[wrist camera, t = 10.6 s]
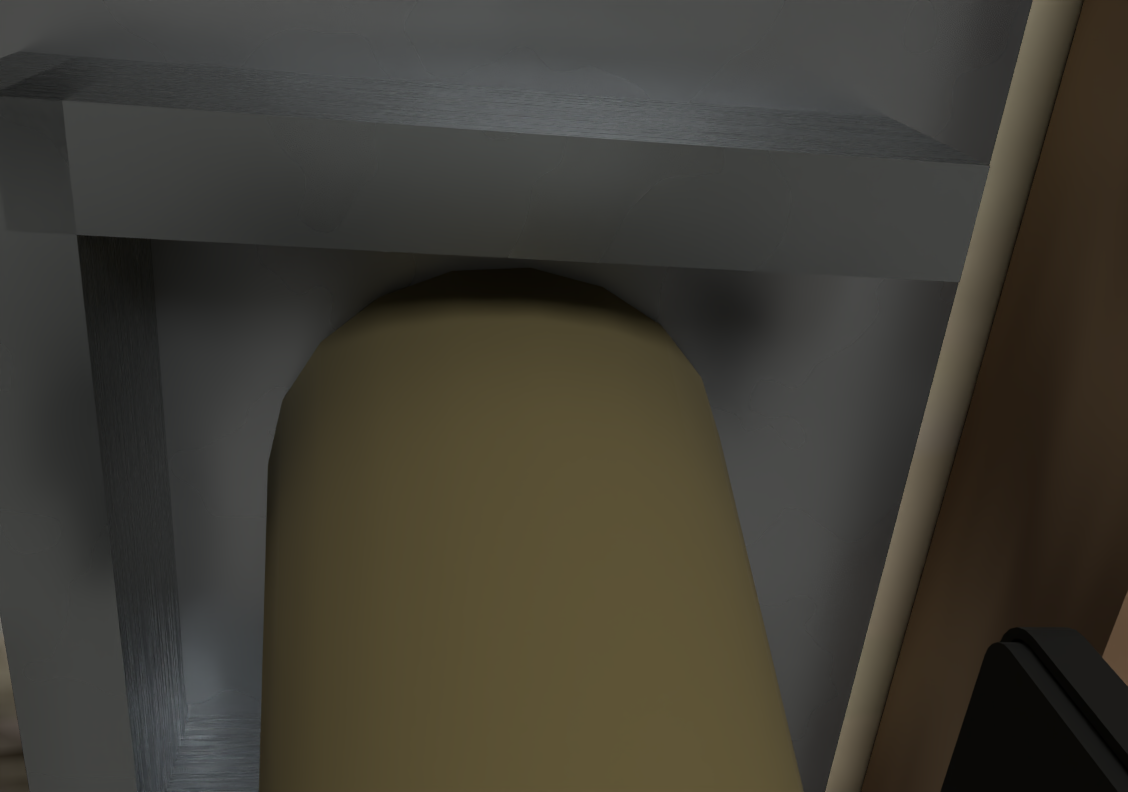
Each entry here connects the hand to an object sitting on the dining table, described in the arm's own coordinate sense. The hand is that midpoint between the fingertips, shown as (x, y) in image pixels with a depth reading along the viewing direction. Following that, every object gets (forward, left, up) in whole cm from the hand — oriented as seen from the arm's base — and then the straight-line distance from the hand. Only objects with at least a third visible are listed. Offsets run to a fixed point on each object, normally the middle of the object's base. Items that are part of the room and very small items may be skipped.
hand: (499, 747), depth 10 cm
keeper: (0, 0, -5) cm, 5 cm away
